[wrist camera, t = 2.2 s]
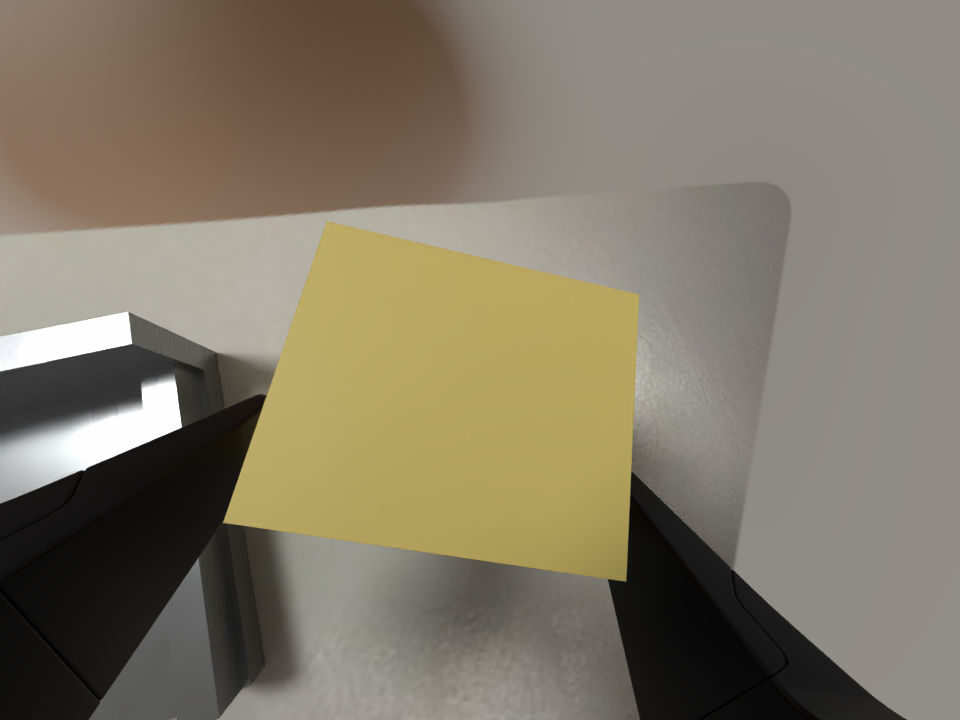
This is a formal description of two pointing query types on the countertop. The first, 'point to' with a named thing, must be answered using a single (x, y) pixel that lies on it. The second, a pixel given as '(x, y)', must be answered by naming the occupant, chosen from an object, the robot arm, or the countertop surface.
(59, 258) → the countertop surface
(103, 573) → the robot arm
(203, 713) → the grey metal tray
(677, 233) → the countertop surface
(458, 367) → the block
